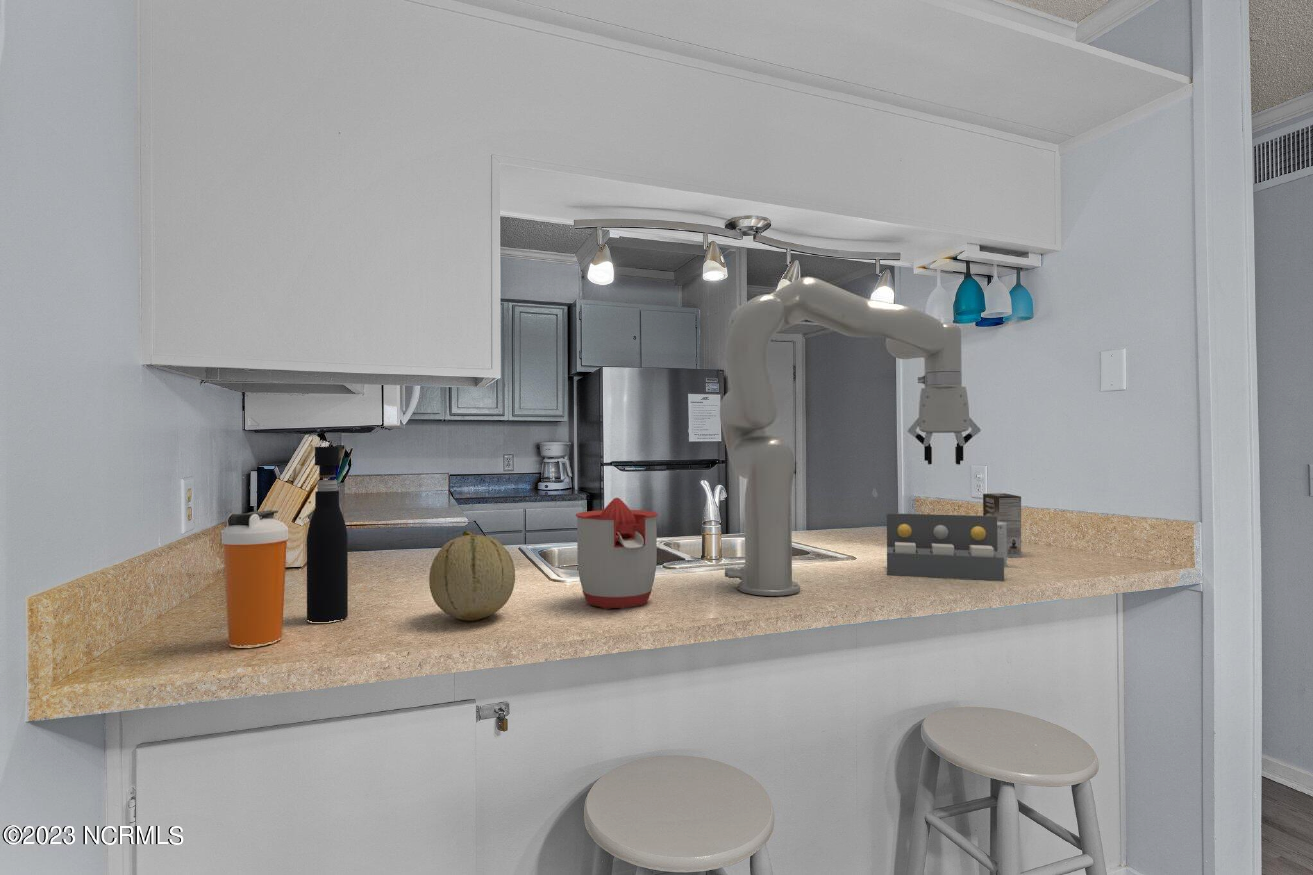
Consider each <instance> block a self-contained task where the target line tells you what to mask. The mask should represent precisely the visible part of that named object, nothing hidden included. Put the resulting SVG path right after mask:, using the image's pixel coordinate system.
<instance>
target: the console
mask: <svg viewBox="0 0 1313 875" xmlns="http://www.w3.org/2000/svg"><path fill="white" fill-rule="evenodd" d="M895 542H904V543H915V545H916V553H895ZM932 544H952V545H953V546H954V555H941V554H932ZM970 545H983V546H992V547H993V548H994V557H988V556H970ZM886 575H887V576H904V577H921V578H922V577H923V578H924V577H925V578H938V579H939V578H941V579H942V578H943V579H958V580H959V579H960V580H978V581H996V582H997V581H998V582H1005V568H1004V557H1003V556H1002V555H1001V554H1000V553H999V552H998V550H997V516H983V515H974V514H973V515H972V514H971V515H969V514H968V515H967V514H965V515H964V514H963V515H962V514H934V513H933V514H930V513H929V514H928V513H927V514H926V513H925V514H924V513H898V512H897V513H895V512H894V513H892V512H891V513H889V512H887V513H886Z"/></svg>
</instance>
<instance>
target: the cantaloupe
mask: <svg viewBox="0 0 1313 875" xmlns="http://www.w3.org/2000/svg"><path fill="white" fill-rule="evenodd" d="M462 535H463V536H459V537H455V538H453V539H451V540H449V541H447V542H446V543H444V545H443V546H442V547H441V548H440V550H438V552H437V554H436V555H435V556H434V558H433V560H432V563H431V566H430V568H429V574H428V577H429V579H428V582H429V584H428V585H429V590H430V593H431V597H432V599H433V601H434V602H435V604H436V605H437V607H438V608H439V609H440V610H441V611H442V612H444V613H445V614H446V615H448V616H449V617H452V618H455V619H458V620H462V621H469V622H476V621H478V620H481V619H484V618H487V617H490V616H492V615H494V614H496V613H497V612H499V610H501V609H502V608H503V607H504V606H505V605H506V604H507V603H508V601H509V600H510V598H511V596H512V594H513V591H514V588H515V583H516V569H515V564H514V559H513V558H512V555H511V554H510V552H509V551H508V550H507V548H506V547H505V546H504V545H503V544H502V543H501V542H500V541H498V539H494V538H492V537H490V536H486V535H481V534H473V533H472V532H471V531H468V530H464V531H462ZM475 620H476V621H475Z"/></svg>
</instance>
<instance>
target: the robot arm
mask: <svg viewBox="0 0 1313 875" xmlns="http://www.w3.org/2000/svg"><path fill="white" fill-rule="evenodd" d="M805 320H806V321H809V322H812V323H814V324H817V325H820V326H822V327H825V328H827V329H830V330H832V331H835V332H837V333H839V334H842V335H844V336H846V337H847V336H848V337H854V338H881V339H882V338H884V339H886V340H885V347H886V350H887V352H888V353H889V354H890V355H891V356H892V357H894V358H896V359H900V360H910V359H919V358H920V359H921V358H923V359H924V375H921V376H917V384H922V385H924V387H921V390H920V394H919V402H918V418H917V419H916V420H914V422H913V423H912V425H911V426H910V427H909V428H908V429H907V433H908V434H910V435H911V436H912V437H914V438H915V439H916V440H917V441H918V442H919V443H921V445H923V446H924V447H923V448H924V450H923V451H924V454H923V455H924V461H925V462H926V461H927V465H932V463H933V460H932V459H933V449H932V448H933V447H932V446H931V440H932V436H933V434H935V433H936V434H941V433H943V434H944V433H945V434H948V433H949V434H951V433H953V434H954V436H955V439H956V442H957V443H956V446H955V447H954V448H955V449H954V450H955V452H954V453H955V455H954V456H955V465H957V466H958V465H961V462H964V446H965V445H966V444H967V443H968V442H970V440H971V439H972V438H974V437H975V436H977V435H978V434H980V432H981V430H982V429H981V428H980V427H979V426H978V425H977V423H976V422H975V421H974V420H973V419H972V418H971V416H970V408H969V406H970V404H969V397H968V392H967V388H966V386H962V385H963V380H962V374H963V373H962V331H961V330H962V329H961V328H960V327H959V325H957V324H954V323H953V324H952V323H944V324H943V323H942V322H941V320H939V319H937V318H935V317H934V316H932V315H930V314H928V313H925V312H924V311H921V310H918V309H915V308H914V307H909V306H906V305H902V304H897V303H892V302H888V301H887V302H886V301H881V300H876V299H869V298H866V297H863V296H859V295H858V294H855V293H853V292H851V291H847V290H845V289H843V288H841V287H838V286H836V285H834V284H831V283H830V282H827V281H824V280H822V279H820V278H816V277H812V276H804V277H800V278H798V279H795V280H793V281H792V282H790V283H788V284H786V285H785V286H783V287H781V288H779V289H777V290H775V291H774V292H772V293H769V294H768V293H767V294H765V293H764V294H760V295H757V296H755V297H754V298H752V299H749V300H748V301H747V302H744V303H743V304H741V305H740V306H738V307H736V308H735V309H734V310H733V311H732V312H731V314H730V316H729V319H728V323H727V325H728V329H729V334H728V337H727V340H726V346H725V354H724V355H725V356H724V357H725V367H726V372H727V377H728V382H729V383H728V384H729V388H730V390H729V391H727V393H725V395H724V396H723V398H722V399H721V403H720V406H719V418H720V424H721V429H722V432H723V438H724V442H725V446H726V451H727V455H728V460H729V462H730V465H731V467H732V469H733V471H734V472H735V473H736V474H737V475H738V476H739V477H741V478H743V479H744V480H745V479H746V487H745V491H744V492H745V493H744V504H743V505H744V507H743V508H744V566H743V567H742V566H740V567H739V568H735V567H725V569H724V577H725V578H728V579H739V582H738V583H737V590H739V592H741V593H745V594H749V595H754V596H765V597H766V596H768V597H769V596H770V597H779V596H789V595H794V594H797V593H799V592H800V591H801V585H800V584H799V583H798V582H796V581H793V556H792V555H793V551H792V549H793V548H792V547H793V546H792V544H793V543H792V542H793V541H792V540H793V537H792V535H793V534H792V533H793V532H792V530H793V528H792V527H793V526H792V519H793V518H792V493H793V492H792V491H793V482H794V476H795V470H796V458H795V454H794V450H793V449H792V447H791V445H790V444H789V442H787V441H786V440H785V439H783V438H781V437H779V436H776V435H769V434H768V435H767V433H766V429H767V428H769V427H770V426H772V425H773V424H774V423H775V422H776V420H777V419H778V414H779V407H778V402H777V397H776V394H775V388H774V385H773V380H772V375H771V371H770V367H769V366H770V365H769V364H770V363H769V356H768V355H769V352H768V351H769V347H770V343H771V341H772V339H773V338H774V336H775V334H777V333H779V332H781V331H783V330H786V329H787V328H789V327H791V326H794V325H796V324H798V323H800V322H802V321H805ZM917 429H919V431H921V432H923V433H925V435H924V436H923V435H922V434H920V433H919V432H918V431H917ZM969 429H971V430H970V431H969V432H968V433H967V434H965V435H964V436H963V433H965V432H967V431H968V430H969Z"/></svg>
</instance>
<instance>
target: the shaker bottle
mask: <svg viewBox="0 0 1313 875" xmlns="http://www.w3.org/2000/svg"><path fill="white" fill-rule="evenodd" d="M276 513H279V510H272V509H271V510H268V509H267V510H257V511H251V512H247V513H231V514H229V516H228V517H227V519H226V522H227V523H226V527H225V528H224V529H222V531H221V545H222V546H223V557H224V558H223V560H224V577H225V578H224V580H225V593H226V594H225V596H226V597H225V598H226V613H227V614H226V616H227V632H228V633H227V634H228V635H227V636H228V645H229V644H231V645H237V646H240V645H241V646H244V645H257V644H265V643H268V642H273V641H275V640H278V639H279V638H281V637H282V638H283V628H284V627H283V624H284V622H283V621H284V604H285V603H284V601H285V588H286V587H285V586H286V585H285V584H286V566H287V565H286V563H287V542H288V541H289V540H290V539H289V527H288V526H287V525H286V524H285V523H284V522H283V521H281V520H278V519H274V518H275V514H276Z"/></svg>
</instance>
